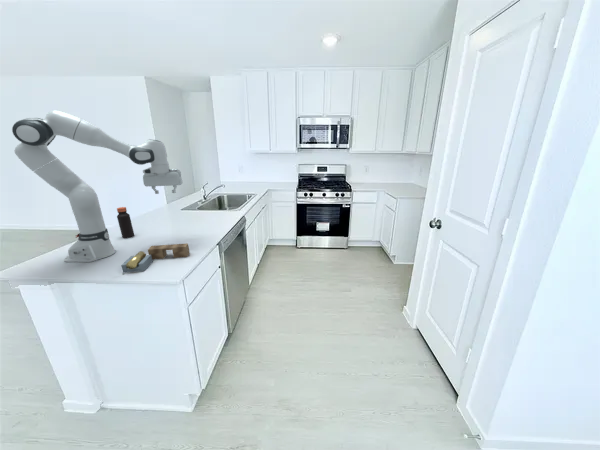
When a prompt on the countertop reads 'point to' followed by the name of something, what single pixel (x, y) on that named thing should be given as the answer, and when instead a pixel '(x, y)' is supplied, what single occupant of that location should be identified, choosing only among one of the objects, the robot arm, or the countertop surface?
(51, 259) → the countertop surface
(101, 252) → the robot arm
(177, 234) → the countertop surface
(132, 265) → the gold bar
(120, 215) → the bottle
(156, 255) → the beam
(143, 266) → the v block
